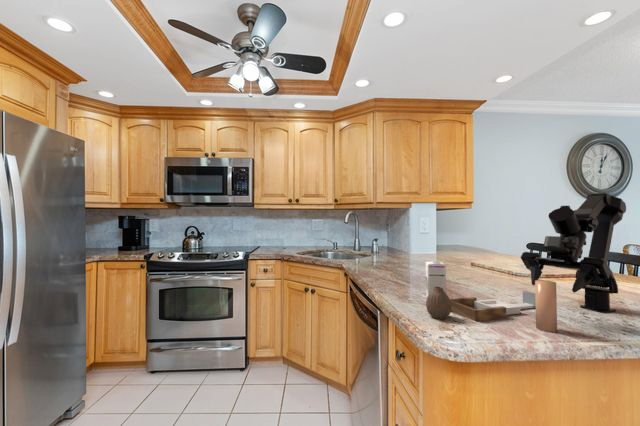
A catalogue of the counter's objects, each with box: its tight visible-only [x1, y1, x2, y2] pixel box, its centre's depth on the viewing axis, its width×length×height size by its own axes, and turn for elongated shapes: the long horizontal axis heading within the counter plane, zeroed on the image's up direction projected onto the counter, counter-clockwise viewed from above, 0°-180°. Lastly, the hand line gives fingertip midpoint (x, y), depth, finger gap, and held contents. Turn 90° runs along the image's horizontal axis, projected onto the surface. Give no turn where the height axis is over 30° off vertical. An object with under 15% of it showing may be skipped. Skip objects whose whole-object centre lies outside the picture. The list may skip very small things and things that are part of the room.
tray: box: [473, 290, 536, 316], centre depth 93 cm, size 20×9×4 cm, turn 106°
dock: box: [449, 296, 507, 322], centre depth 88 cm, size 12×12×3 cm
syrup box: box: [424, 261, 447, 301], centre depth 96 cm, size 6×6×14 cm
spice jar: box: [534, 279, 558, 333], centre depth 75 cm, size 4×4×12 cm
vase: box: [425, 287, 452, 320], centre depth 85 cm, size 7×7×9 cm
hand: (552, 287), depth 77 cm, fingers open, 9 cm apart
